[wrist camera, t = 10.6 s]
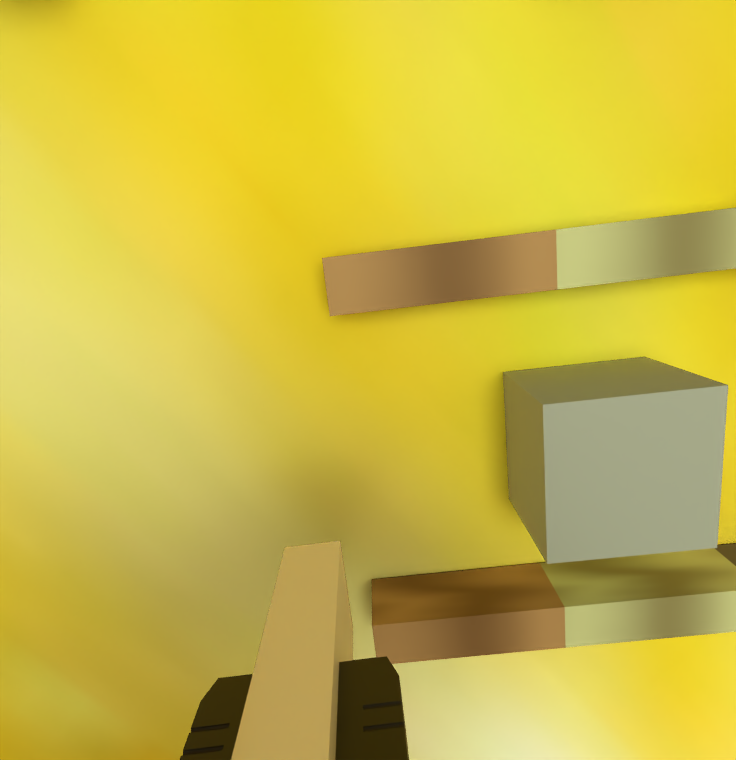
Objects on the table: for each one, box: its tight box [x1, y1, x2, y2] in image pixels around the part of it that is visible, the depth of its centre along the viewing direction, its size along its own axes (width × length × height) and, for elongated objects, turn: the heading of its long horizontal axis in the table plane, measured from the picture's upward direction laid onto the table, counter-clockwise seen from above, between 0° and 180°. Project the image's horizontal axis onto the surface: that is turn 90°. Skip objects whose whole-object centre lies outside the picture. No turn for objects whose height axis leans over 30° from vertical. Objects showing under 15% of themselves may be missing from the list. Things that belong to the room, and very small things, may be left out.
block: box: [503, 357, 728, 564], centre depth 19 cm, size 6×6×5 cm
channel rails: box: [322, 208, 736, 664], centre depth 20 cm, size 16×17×3 cm
